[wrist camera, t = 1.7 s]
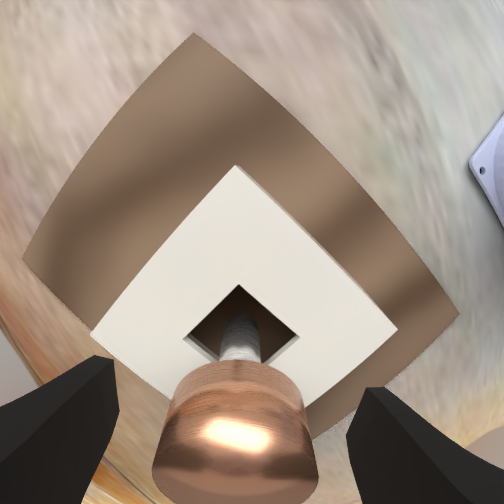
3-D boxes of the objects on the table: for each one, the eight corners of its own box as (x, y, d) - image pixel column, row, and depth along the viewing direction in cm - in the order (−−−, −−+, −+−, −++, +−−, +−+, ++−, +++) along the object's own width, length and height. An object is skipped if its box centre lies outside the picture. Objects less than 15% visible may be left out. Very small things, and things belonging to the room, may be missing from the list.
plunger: (304, 328, 13) (351, 477, 6) (243, 380, 13) (240, 530, 6) (238, 270, 12) (226, 406, 5) (178, 330, 13) (123, 475, 6)
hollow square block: (363, 289, 17) (397, 329, 12) (246, 391, 18) (246, 447, 14) (239, 165, 15) (234, 164, 10) (125, 294, 17) (89, 334, 12)
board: (456, 311, 17) (459, 313, 17) (278, 456, 20) (279, 460, 20) (194, 35, 13) (193, 32, 13) (25, 256, 16) (21, 258, 16)
